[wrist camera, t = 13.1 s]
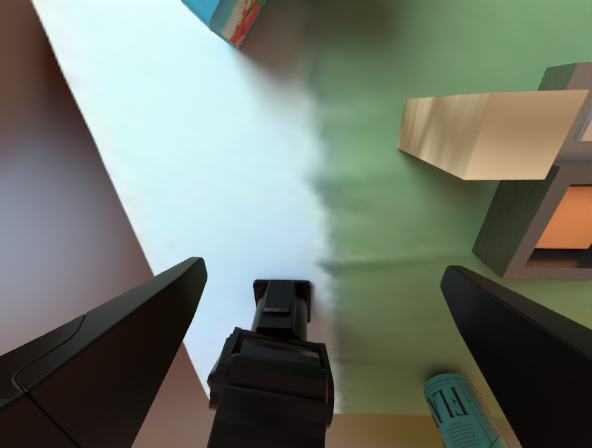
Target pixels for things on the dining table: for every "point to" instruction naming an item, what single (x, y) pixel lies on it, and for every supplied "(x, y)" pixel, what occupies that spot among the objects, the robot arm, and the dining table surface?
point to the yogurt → (227, 17)
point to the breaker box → (542, 199)
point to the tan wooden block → (490, 132)
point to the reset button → (570, 220)
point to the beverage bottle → (461, 413)
